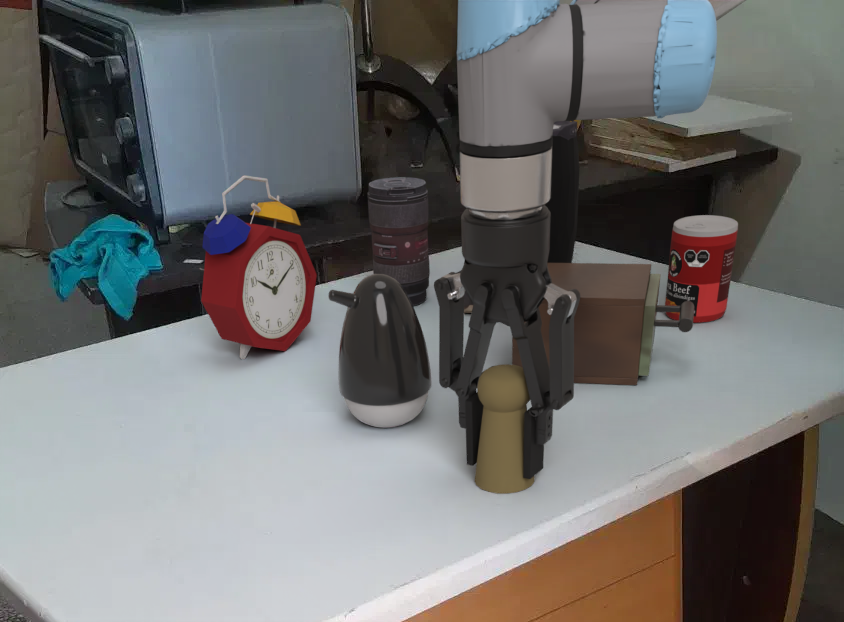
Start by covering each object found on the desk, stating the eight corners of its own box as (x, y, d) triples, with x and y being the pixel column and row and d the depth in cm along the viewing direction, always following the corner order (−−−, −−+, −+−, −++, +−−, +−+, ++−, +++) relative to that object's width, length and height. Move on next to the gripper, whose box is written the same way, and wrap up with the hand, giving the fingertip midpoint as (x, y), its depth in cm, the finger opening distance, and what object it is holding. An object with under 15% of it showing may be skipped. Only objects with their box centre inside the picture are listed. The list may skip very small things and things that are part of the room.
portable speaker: (531, 263, 154) (535, 113, 141) (586, 271, 150) (594, 117, 137) (501, 278, 149) (502, 124, 136) (556, 287, 145) (563, 129, 132)
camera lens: (438, 304, 142) (434, 185, 132) (382, 312, 140) (374, 192, 130) (423, 288, 148) (418, 172, 138) (369, 295, 146) (360, 179, 136)
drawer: (689, 341, 124) (698, 274, 119) (686, 377, 116) (695, 306, 110) (544, 337, 127) (546, 271, 122) (531, 372, 119) (533, 302, 114)
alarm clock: (246, 370, 127) (217, 192, 113) (198, 357, 131) (165, 184, 118) (324, 333, 135) (305, 164, 122) (277, 323, 139) (254, 158, 126)
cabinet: (643, 346, 126) (651, 263, 120) (636, 385, 117) (644, 298, 111) (527, 342, 129) (528, 262, 123) (511, 380, 120) (512, 296, 113)
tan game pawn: (464, 473, 102) (462, 364, 95) (519, 461, 104) (521, 352, 96) (488, 498, 98) (488, 386, 91) (545, 485, 99) (549, 374, 92)
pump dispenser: (330, 410, 116) (314, 268, 106) (416, 394, 118) (408, 254, 108) (355, 444, 109) (340, 296, 99) (446, 427, 111) (441, 280, 101)
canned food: (653, 309, 136) (662, 219, 129) (707, 301, 137) (718, 211, 130) (681, 327, 130) (692, 234, 123) (736, 318, 132) (750, 226, 125)
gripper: (627, 206, 83) (607, 470, 98) (435, 187, 91) (444, 433, 106) (587, 229, 78) (573, 503, 93) (388, 207, 86) (404, 462, 102)
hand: (504, 465), depth 100 cm, fingers open, 6 cm apart
